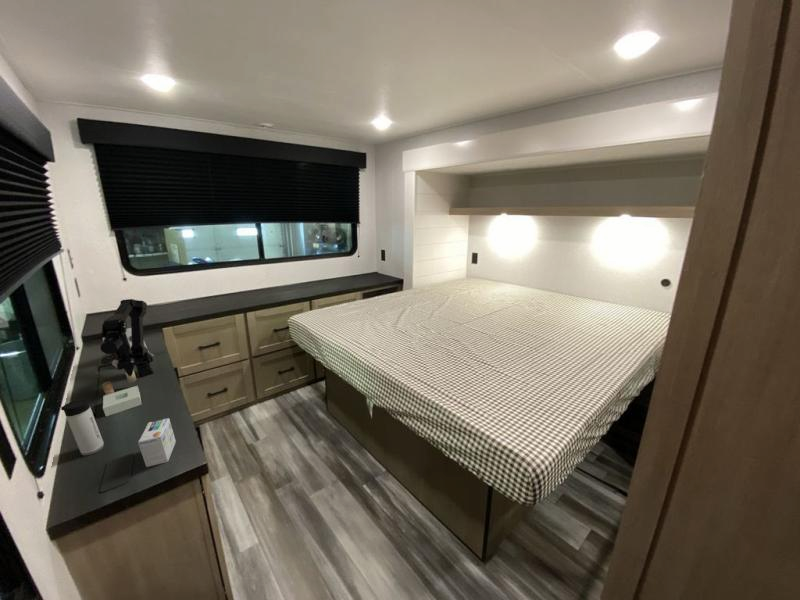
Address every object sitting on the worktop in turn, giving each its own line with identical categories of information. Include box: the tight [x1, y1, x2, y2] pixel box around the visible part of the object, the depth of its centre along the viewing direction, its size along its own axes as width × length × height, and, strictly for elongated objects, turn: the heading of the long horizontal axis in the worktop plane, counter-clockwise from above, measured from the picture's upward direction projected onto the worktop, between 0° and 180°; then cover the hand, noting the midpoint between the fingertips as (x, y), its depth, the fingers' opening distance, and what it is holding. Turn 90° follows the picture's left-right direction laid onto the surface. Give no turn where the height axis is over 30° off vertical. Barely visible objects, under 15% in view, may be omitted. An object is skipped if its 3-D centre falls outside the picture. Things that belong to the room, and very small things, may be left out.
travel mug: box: [60, 399, 105, 456], centre depth 115 cm, size 6×7×20 cm
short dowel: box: [101, 381, 115, 395], centre depth 151 cm, size 3×3×6 cm
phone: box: [99, 453, 135, 494], centre depth 108 cm, size 7×1×15 cm
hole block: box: [102, 385, 142, 417], centre depth 143 cm, size 12×12×4 cm
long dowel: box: [123, 369, 137, 384], centre depth 154 cm, size 3×3×10 cm
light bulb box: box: [137, 417, 177, 468], centre depth 113 cm, size 11×7×11 cm, turn 21°
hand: (130, 374), depth 155 cm, fingers closed on long dowel, 3 cm apart
